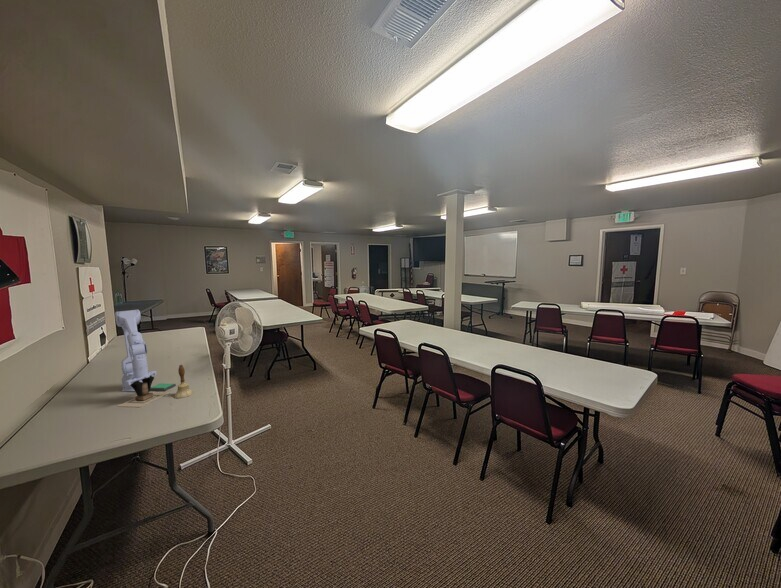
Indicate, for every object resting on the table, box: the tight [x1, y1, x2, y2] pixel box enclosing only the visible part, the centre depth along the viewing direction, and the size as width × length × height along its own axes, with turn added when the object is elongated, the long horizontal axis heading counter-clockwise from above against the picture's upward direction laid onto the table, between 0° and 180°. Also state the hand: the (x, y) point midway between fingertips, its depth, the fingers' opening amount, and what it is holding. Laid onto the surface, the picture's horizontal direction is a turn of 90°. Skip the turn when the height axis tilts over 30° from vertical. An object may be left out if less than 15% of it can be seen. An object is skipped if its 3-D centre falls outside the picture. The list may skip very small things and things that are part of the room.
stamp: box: [134, 383, 153, 401], centre depth 149 cm, size 5×5×8 cm
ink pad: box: [150, 382, 177, 392], centre depth 162 cm, size 10×7×2 cm
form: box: [117, 391, 170, 408], centre depth 149 cm, size 13×16×1 cm
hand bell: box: [173, 364, 194, 399], centre depth 152 cm, size 8×8×16 cm
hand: (143, 393), depth 149 cm, fingers closed on stamp, 4 cm apart
